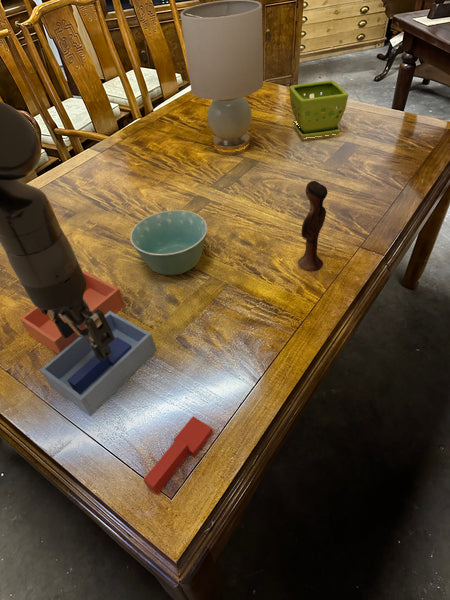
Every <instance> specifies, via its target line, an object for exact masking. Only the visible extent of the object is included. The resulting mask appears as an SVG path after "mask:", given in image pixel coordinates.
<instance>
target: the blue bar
mask: <svg viewBox="0 0 450 600" xmlns="http://www.w3.org/2000/svg"><path fill="white" fill-rule="evenodd" d="M109 347H110V350H111V354H110V355H109V356H108V357H107V358H106V359H105V360H104V361H100V360H98V359H97V357H96V355H95V356H94V357H93V358H92V359H90V360H89V361H88V362H87V363H86V364H85V365H84V366H83V367H81V368H80V369H79V370H78V371H77V372H76V373H75V374H74V375H72V376H71V377H70V378H69V379H68V382H69V384H70V385H71V387H72V389H73V390H75V391H76V392H77V393H79V394H81V393H82V392H83V391H84V390H85V389H86V388H87V387H88V386H89V385H90V384H91V383H92V382H94V381H95V380H96V379H97V378H98V377H99V376H100V375H101V374H102V373H103V372H104V371H105V370H106V369H107V368H109V367H110V366H111V365H112V366H114V365H115V364H116V363H117V362H118V361H119V360H120V359H121V358H122V357H123V356H124V355H125V354H126V353H127V352H128V351H129V350H130V349H132V347H131V345H130V344H128V343H126V342H125V341H123V340H121V339H120V338H118V337H116V338H115V339H114V340H113V341H112V342H111V343H110V344H109Z"/></svg>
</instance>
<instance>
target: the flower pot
mask: <svg viewBox="0 0 450 600" xmlns="http://www.w3.org/2000/svg"><path fill="white" fill-rule="evenodd" d="M288 89H289V99H290V107H291V110H292V114H293V117H294V120H292V121H293V122H292V124H293V123H294V124H293V126H294V128H295V127H296V128H295V130H296V131H297V133H298V132H299V133H298V134H299V136H300V137H301V138H302V139H303V138H306V137H315V136H322V137H315V138H307V139H303V141H307V140H308V141H309V140H315V139H323V138H330V137H335V136H338V134H339V133H341V129H340V127H339V126H338V125H339V124H340V122H341V120H342V119H343V116H344V113H345V111H346V108H347V103H348V98H349V94H348V92H347V91H346V90H345V89H344V88H343V87H342V86H341V85H340V84H338V83H337V82H336V81H334V80H323V81H315V82H313V81H312V82H307V83H299V84H293V85H290V86H289V88H288ZM311 95H313V97H311ZM294 121H297V123H298V125H299V126H298V125H296V123H295V122H294ZM299 127H300V128H299ZM332 134H336V135H332ZM325 135H329V136H325Z"/></svg>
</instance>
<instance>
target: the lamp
mask: <svg viewBox="0 0 450 600" xmlns="http://www.w3.org/2000/svg"><path fill="white" fill-rule="evenodd" d="M180 20H181V21H180V23H181V27H182V35H183V43H184V47H185V48H184V49H185V56H186V64H187V70H188V71H187V72H188V76H189V78H188V79H189V84H190V91H191V94H192V95H193V96H195V97H197V98H200V99H203V100H210V101H211V102H210V103H209V106H208V109H207V113H206V119H207V125H208V128H209V130H210V131H211V132H212V134H213V135H214V136H215V137H214V138H213V139H212V142H213V146H214V145H215V146H216V147H217V148H219V149H223V150H235V149H239V148H242V147H244V146H246V145H247V144H248V143H249V142H250V136H249V134H248V131H249V130H250V127H251V124H252V121H253V112H252V108H251V106H250V103H249V102H248V101H247V99H246V98H245V97H248V96H250V95H254V94H255V93H257V92H259V91H260V90H261V89H262V88H263V87H264V47H263V46H264V45H263V42H264V41H263V4H262V3H261V2H259V1H257V0H216V1H215V0H214V1H210V2H203V3H199V4H196V5H192V6H189V7H186V8H185V9H183V10H182V11H181V12H180ZM250 143H251V142H250ZM250 143H249V145H248V146H247V147H246V148H245V149H242V150H240V151H235V152H222V151H219V150H217V149H215V148H214V147H213V150H214V151H215V153H217V154H218V155H219V154H220V155H223V156H236V155H239V154H243V153H245V152H246V151H248V150H249V149H250V147H251V145H250Z"/></svg>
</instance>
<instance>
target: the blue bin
mask: <svg viewBox="0 0 450 600" xmlns="http://www.w3.org/2000/svg"><path fill="white" fill-rule="evenodd" d="M104 316H105V318H106V320H107V322H108V325H109V327H110V329H111V331H112V333H113V335H114V337H115V338H116V337H118V338H120V339H121V340H123V341H125V342H126V343H128V344H130V345H131V347H132V349H130V350H129V351H128V352H127V353H126V354H125V355H124V356H123V357H122V358H121V359H120V360H119V361H118V362H117V363H116V364H115V365H114V366H112V365H111V366H110V367H109V368H107V369H106V370H105V371H104V372H103V373H102V374H101V375H100V376H99V377H98V378H97V379H96V380H95V381H94V382H92V383H91V384H90V385H89V386H88V387H87V388H86V389H85V390H84V391H83V392H82V393H81V394H79V393H77V392H76V391H75V390H73V389H72V387H71V385H70V384H69V382H68V379H69V378H70V377H71V376H72V375H74V374H75V373H76V372H77V371H78V370H79V369H80V368H81V367H83V366H84V365H85V364H86V363H87V362H88V361H89V360H90V359H92V358H93V357H94V356H95V353H94V351H93V349H92V347H91V345H90V344H89V342H88V341H87V340H86V339H85V338H84V337H78V338H77V339H76V340H75V341H74V342H72V343H71V344H70V345H69V346H68V347H66V348H65V349H64V350H63V351H62V352H60V353H59V354H57V355H55V357H53V358H52V359H51V360H49V362H47V363H46V364H45V365H43V367H41V368H40V369H39V371H40V373H41V374H42V375H43V377H44V379H45V380H46V381H47V383H48V384H49V386H50V387H51V388H52V389H54V390H55V391H56V392H57V393H59V394H60V395H62V397H64V398H66V399H67V400H69V401H70V402H71V403H72V404H73V405H75V406H76V407H78V408H79V409H80V410H82V412H84V413H86V414H87V415H88V416H90V417H91V416H92V415H93V414H94V413H95V412H96V411H97V410H98V409H99V408H100V407H102V405H103V404H104V403H105V402H106V401H107V400H109V398H110V397H111V396H113V394H115V392H116V391H118V389H119V388H121V386H122V385H124V384H125V382H127V380H128V379H129V378H130V377H131V376H132V375H133V374H135V373H136V372H137V371H138V370H139V368H141V367H142V366H143V364H145V363H146V362H147V361H148V360H149V358H151V357H152V355H154V354H155V352H156V351H157V347H156V344H155V341H154V338H153V335H152V333H151V332H149V331H147V330H146V329H144V328H142V327H140V326H138V325H136V324H135V323H133V322H132V321H129V320H128V319H126V318H124V317H123V316H120V315H118V314H117V313H116V314H115V313H113V312H111V311H109V312H108V313H107V314H106V315H104ZM89 335H90V336H91V334H90V332H89ZM91 337H92V336H91Z"/></svg>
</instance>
